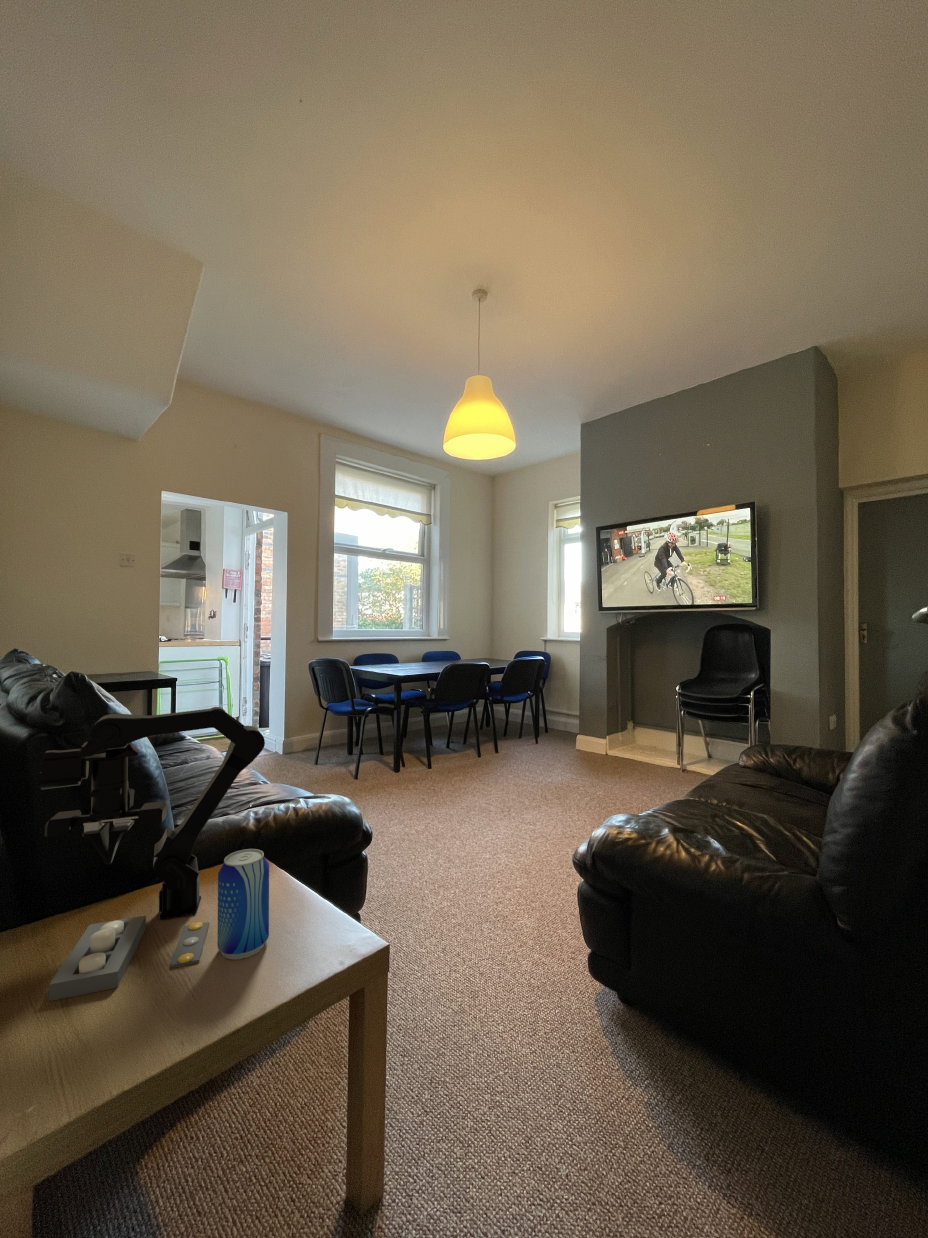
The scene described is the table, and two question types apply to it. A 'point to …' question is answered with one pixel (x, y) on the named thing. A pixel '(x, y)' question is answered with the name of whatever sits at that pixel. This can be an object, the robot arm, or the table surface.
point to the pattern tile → (190, 944)
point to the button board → (115, 967)
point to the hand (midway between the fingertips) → (108, 863)
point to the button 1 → (92, 962)
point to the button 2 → (115, 927)
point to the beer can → (243, 904)
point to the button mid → (102, 941)
